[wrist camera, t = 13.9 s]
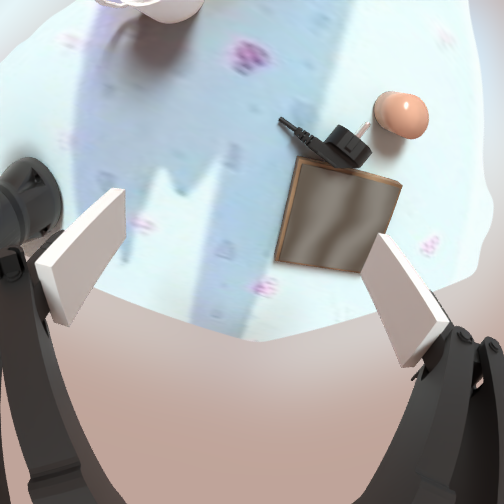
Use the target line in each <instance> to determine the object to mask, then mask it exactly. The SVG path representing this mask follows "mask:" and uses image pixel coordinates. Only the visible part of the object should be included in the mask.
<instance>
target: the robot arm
mask: <svg viewBox="0 0 504 504" xmlns="http://www.w3.org/2000/svg"><path fill="white" fill-rule="evenodd" d="M60 211H61V200H60V194H59V190H58V186H57V184H56V181H55V179H54V177H53V175H52V174H51V172H50V171H49V169H48V168H47V167H46V166H45V165H44V164H43V163H42V162H40V161H39V160H37V159H35V158H31V157H25V158H22V159H20V160H18V161H16V162H14V163H12V164H11V165H10V166H9V167H8V168H7V169H6V170H5V171H4V173H3V174H2V175H1V176H0V398H1V377H2V368H3V374H4V381H5V387H6V392H7V397H8V402H9V406H10V410H11V415H12V419H13V423H14V427H15V430H16V434H17V437H18V440H19V444H20V446H21V450H22V453H23V456H24V458H25V461H26V464H27V467H28V469H29V472H30V477H31V479H30V481H29V483H28V491H29V494H30V497H31V500H32V502H33V504H126V503H125V501H124V499H123V498H122V497H121V496H120V495H119V493H118V492H117V491H116V489H115V488H114V487H113V486H112V484H111V483H110V481H109V480H108V478H107V476H106V474H105V473H104V471H103V469H102V468H101V466H100V464H99V462H98V460H97V458H96V456H95V454H94V452H93V450H92V449H91V446H90V444H89V442H88V440H87V438H86V436H85V434H84V432H83V429H82V427H81V425H80V423H79V420H78V418H77V416H76V413H75V411H74V408H73V406H72V403H71V401H70V398H69V395H68V393H67V390H66V387H65V384H64V381H63V378H62V375H61V372H60V369H59V366H58V362H57V359H56V356H55V352H54V348H53V344H52V341H51V337H50V332H49V328H48V325H47V322H46V319H45V318H46V316H47V315H48V313H49V312H50V313H51V316H52V319H53V321H54V322H55V323H58V324H61V325H64V326H67V327H70V325H71V324H72V322H73V320H74V318H75V316H76V315H77V313H78V311H79V309H80V308H81V306H82V304H83V303H84V301H85V299H86V298H87V296H88V295H89V293H90V291H91V290H92V288H93V286H94V285H95V283H96V282H97V280H98V278H99V277H100V275H101V274H102V272H103V271H104V269H105V268H106V266H107V265H108V263H109V262H110V260H111V259H112V257H113V256H114V254H115V253H116V251H117V250H118V248H119V247H120V246H121V244H122V243H123V241H124V240H125V238H126V218H125V189H118V188H111V189H110V190H109V191H108V192H106V193H105V194H104V195H103V196H102V197H101V198H100V199H98V200H97V201H96V202H95V203H94V204H93V205H92V206H91V207H89V208H88V209H87V210H86V211H85V212H84V213H83V214H82V215H81V216H80V217H79V218H78V219H77V220H75V221H74V222H73V223H72V224H71V225H70V226H69V227H68V228H67V229H66V230H61V231H59V232H57V233H55V234H53V235H52V236H51V237H50V238H49V239H48V240H47V241H46V243H44V244H43V245H42V246H41V247H40V249H38V250H37V251H36V252H35V253H34V254H33V255H32V257H31V258H30V259H29V260H28V261H27V262H26V259H25V255H24V251H23V249H22V247H20V245H21V244H23V243H26V242H29V241H31V240H34V239H37V238H40V237H43V236H44V235H46V234H47V233H48V232H49V231H51V230H52V229H53V228H54V227H55V225H56V224H57V222H58V220H59V217H60ZM360 275H361V278H362V280H363V282H364V284H365V286H366V288H367V290H368V292H369V294H370V296H371V298H372V301H373V303H374V305H375V307H376V309H377V312H378V314H379V316H380V318H381V320H382V323H383V325H384V327H385V329H386V332H387V334H388V336H389V339H390V341H391V343H392V346H393V349H394V351H395V353H396V356H397V358H398V361H399V364H400V366H401V368H405V367H414V366H415V365H416V364H417V363H418V362H419V361H420V359H421V358H422V359H423V361H424V363H425V364H424V365H423V366H422V367H421V368H420V369H419V370H418V372H417V373H416V374H415V375H414V376H413V377H412V379H411V381H413V380H414V379H415V378H417V380H416V382H415V386H414V388H413V391H412V394H411V397H410V399H409V402H408V405H407V407H406V410H405V412H404V415H403V417H402V419H401V422H400V424H399V426H398V429H397V431H396V433H395V435H394V437H393V440H392V442H391V444H390V446H389V448H388V450H387V452H386V454H385V456H384V458H383V460H382V462H381V463H380V466H379V467H378V469H377V471H376V473H375V474H374V476H373V478H372V480H371V482H370V483H369V485H368V486H367V488H366V490H365V491H364V493H363V494H362V495H361V497H360V498H358V499H357V500H356V501H355V502H354V503H352V504H504V355H503V351H502V349H501V346H500V345H499V343H498V342H497V341H496V340H495V339H493V338H491V337H486V338H485V339H484V340H483V341H482V343H481V344H478V343H475V342H474V340H473V338H472V336H471V335H470V333H469V332H468V331H467V330H465V329H464V328H462V327H460V326H455V327H454V325H453V323H452V322H451V320H450V319H449V317H448V315H447V314H446V312H445V311H444V309H443V308H442V306H441V304H440V303H439V302H438V300H437V298H436V297H435V295H434V294H433V292H431V291H430V290H429V289H428V287H427V286H426V284H425V283H424V281H423V280H422V279H421V277H420V276H419V274H418V273H417V271H416V270H415V269H414V267H413V266H412V264H411V263H410V262H409V260H408V259H407V258H406V256H405V255H404V254H403V252H402V251H401V250H400V248H399V247H398V246H397V244H396V243H395V242H394V241H393V239H392V238H391V237H390V235H386V234H381V233H378V234H377V237H376V239H375V241H374V244H373V246H372V248H371V251H370V253H369V255H368V258H367V260H366V262H365V264H364V266H363V269H362V271H361V273H360ZM482 377H483V379H484V381H483V384H482V385H481V386H480V387H478V388H476V384H477V382H479V380H481V379H482ZM0 401H1V400H0ZM0 504H11V502H10V496H9V491H8V486H7V480H6V474H5V468H4V461H3V451H2V439H1V417H0Z"/></svg>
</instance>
